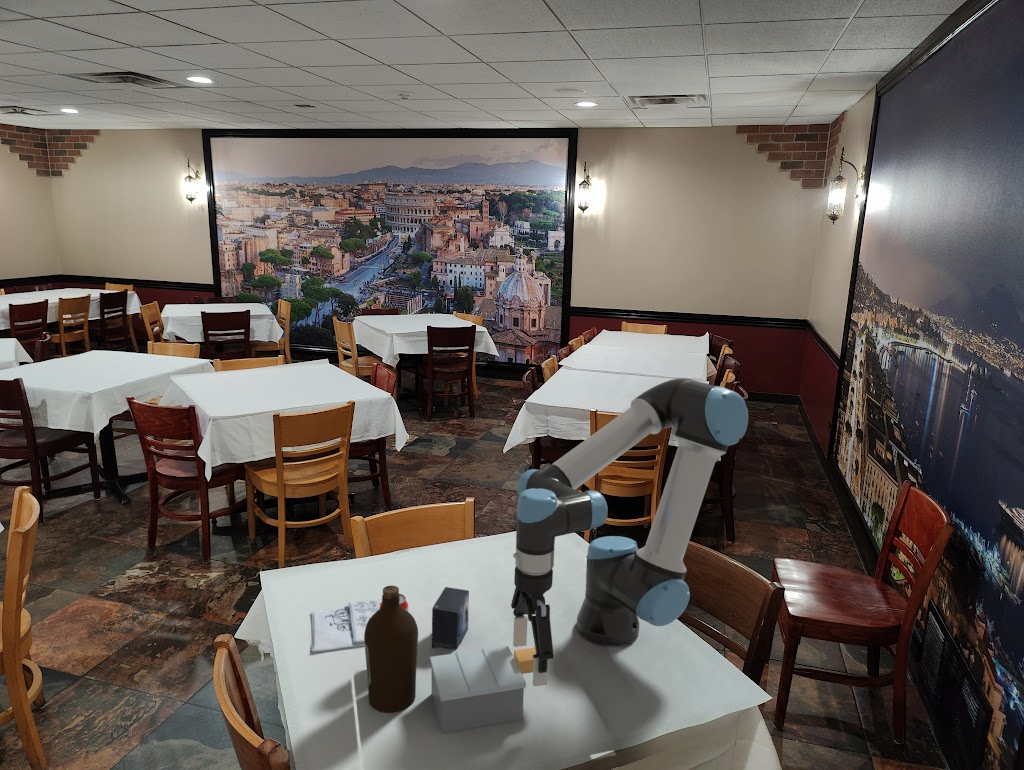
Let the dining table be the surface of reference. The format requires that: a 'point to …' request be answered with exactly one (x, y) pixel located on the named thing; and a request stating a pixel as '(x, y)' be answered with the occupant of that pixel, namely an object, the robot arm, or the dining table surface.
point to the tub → (478, 709)
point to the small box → (450, 618)
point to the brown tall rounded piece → (391, 655)
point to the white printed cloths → (342, 626)
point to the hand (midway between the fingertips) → (529, 664)
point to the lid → (481, 671)
